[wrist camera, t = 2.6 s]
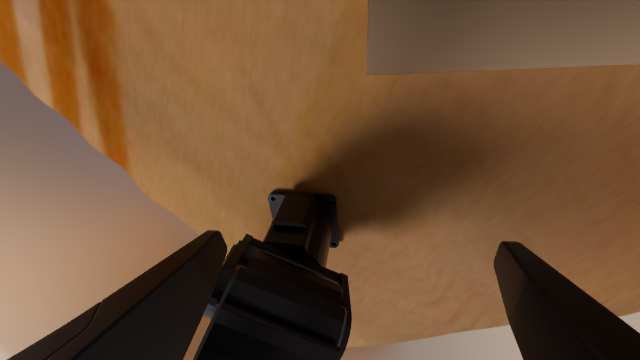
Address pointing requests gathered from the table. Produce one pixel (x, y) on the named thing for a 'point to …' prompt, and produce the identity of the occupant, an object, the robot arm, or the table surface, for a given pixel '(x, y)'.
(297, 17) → the table surface
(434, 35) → the walnut slab
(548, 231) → the table surface
